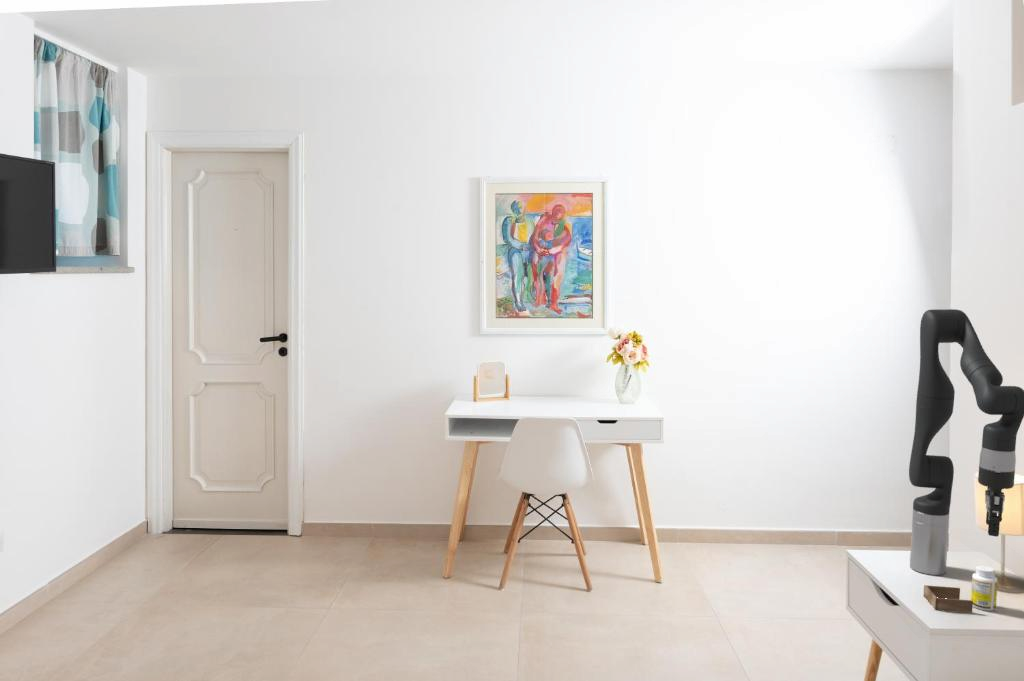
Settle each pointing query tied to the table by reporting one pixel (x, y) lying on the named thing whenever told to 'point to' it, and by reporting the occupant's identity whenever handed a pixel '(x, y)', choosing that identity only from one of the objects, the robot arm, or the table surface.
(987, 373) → the robot arm
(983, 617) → the table surface
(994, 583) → the supplement bottle
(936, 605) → the walnut u rest
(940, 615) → the table surface
